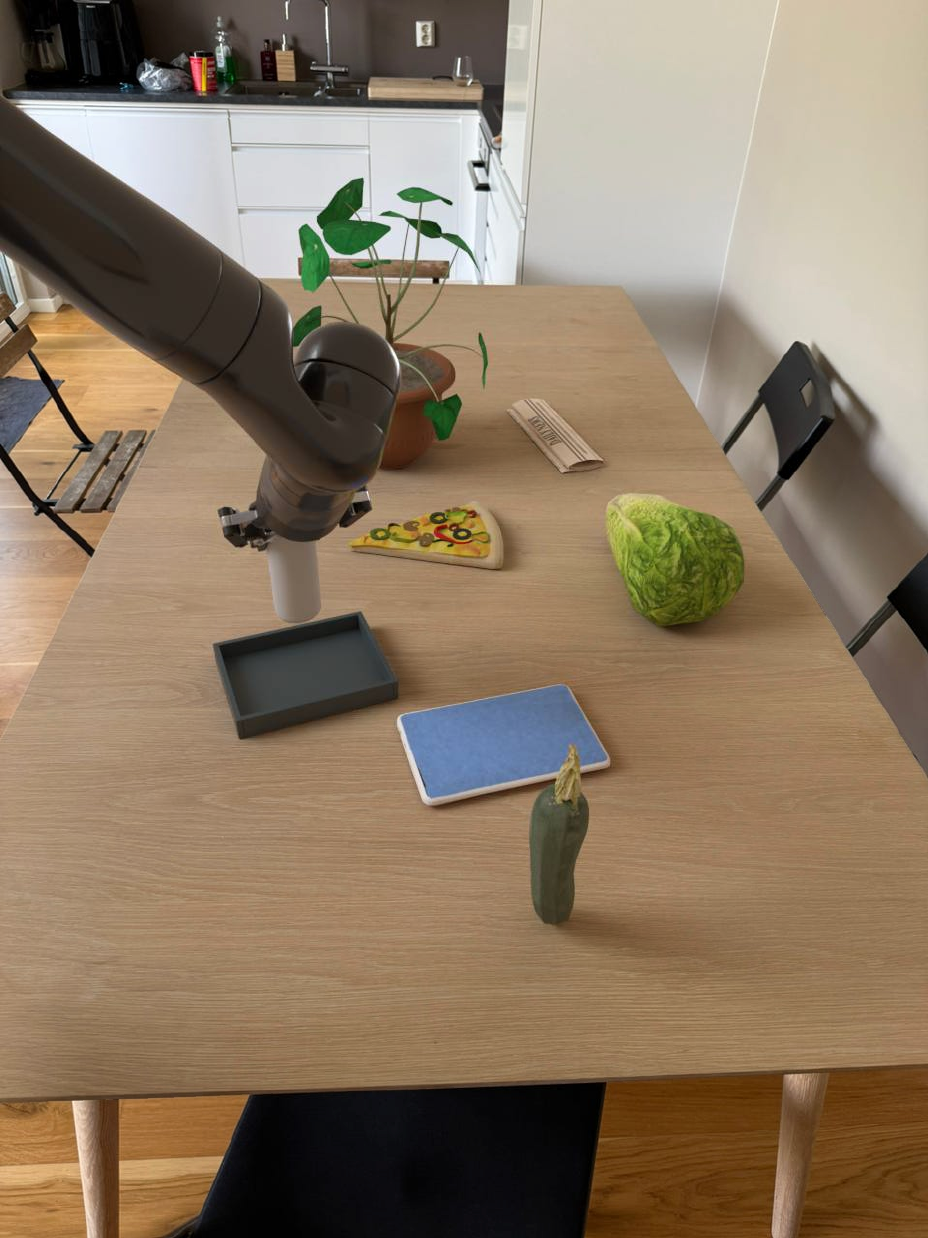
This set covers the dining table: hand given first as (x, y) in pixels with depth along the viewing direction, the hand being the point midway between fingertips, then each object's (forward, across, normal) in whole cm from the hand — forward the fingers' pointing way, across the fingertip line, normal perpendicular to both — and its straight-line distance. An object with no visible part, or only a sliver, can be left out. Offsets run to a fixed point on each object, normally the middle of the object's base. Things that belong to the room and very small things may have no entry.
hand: (286, 536), depth 88 cm
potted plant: (+47, -28, -22) cm, 59 cm away
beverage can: (+5, 0, +7) cm, 9 cm away
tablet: (0, -16, +26) cm, 30 cm away
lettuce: (+14, -47, +12) cm, 50 cm away
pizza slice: (+26, -22, -1) cm, 34 cm away
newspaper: (+43, -53, -18) cm, 70 cm away
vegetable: (-14, -11, +40) cm, 44 cm away
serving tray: (+11, 0, +14) cm, 18 cm away
